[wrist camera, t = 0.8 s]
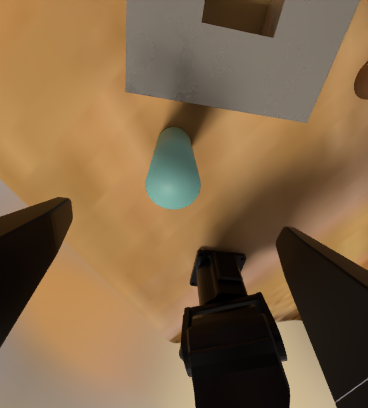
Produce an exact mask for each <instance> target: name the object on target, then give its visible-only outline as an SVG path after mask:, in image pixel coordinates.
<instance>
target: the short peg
mask: <svg viewBox="0 0 368 408" xmlns="http://www.w3.org/2000/svg"><path fill="white" fill-rule="evenodd" d="M354 90H355V93H356V95H357V96H358V97H359V98H361V99H367V100H368V62H367V63H366V64H365V65H364V66H363V67H362V68H361V69H360V71H359V73H358V74H357V77H356V79H355V83H354Z"/></svg>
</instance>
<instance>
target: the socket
mask: <svg viewBox="0 0 368 408" xmlns="http://www.w3.org/2000/svg"><path fill="white" fill-rule="evenodd" d="M359 1H360V0H270V2H269V5H268V9H267V13H266V17H265V20H264V24H263V28H262V31H261V35H257V34H252V33H248V32H243V31H239V30H234V29H229V28H225V27H220V26H215V25H211V24H206V23H202V16H203V9H204V3H205V0H127V15H126V88H125V92H129V93H135V94H141V95H146V96H152V97H158V98H164V99H170V100H176V101H181V102H187V103H193V104H199V105H205V106H211V107H216V108H222V109H228V110H234V111H240V112H246V113H251V114H257V115H263V116H269V117H275V118H281V119H286V120H292V121H298V122H304V123H307V122H308V119H309V117H310V115H311V112H312V110H313V108H314V105H315V103H316V101H317V98H318V96H319V94H320V91H321V89H322V87H323V84H324V82H325V80H326V78H327V75H328V73H329V71H330V68H331V66H332V64H333V61H334V59H335V57H336V54H337V52H338V50H339V47H340V45H341V43H342V40H343V38H344V36H345V34H346V31H347V29H348V27H349V24H350V22H351V20H352V17H353V15H354V13H355V10H356V8H357V6H358V3H359Z"/></svg>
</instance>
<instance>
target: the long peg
mask: <svg viewBox="0 0 368 408" xmlns="http://www.w3.org/2000/svg"><path fill="white" fill-rule="evenodd" d="M200 187H201V183H200V178H199V174H198V170H197V165H196V161H195V157H194V153H193V149H192V145H191V141H190V138H189V136H188V134H187V133H186V132H185V131H184V130H183V129H181V128H178V127H169V128H167V129H165V130H163V131H162V132H161V133H160V135H159V137H158V140H157V143H156V147H155V150H154V154H153V157H152V161H151V164H150V168H149V171H148V175H147V178H146V190H147V193H148V195H149V197H150V198H151V200H152V201H153V202H154V203H156V204H157V205H159V206H161V207H163V208H166V209H180V208H184V207H186V206H188V205H190V204H191V203H192V202H193V201H194V200H195V199H196V198H197V196H198V194H199V192H200Z"/></svg>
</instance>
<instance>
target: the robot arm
mask: <svg viewBox="0 0 368 408" xmlns="http://www.w3.org/2000/svg"><path fill="white" fill-rule="evenodd" d="M72 219H73V214H72V204H71V200H70V199H69V198H63V197H57V198H54V199H51V200H48V201H45V202H42V203H39V204H36V205H33V206H30V207H27V208H25V209H22V210H19V211H16V212H13V213H10V214H7V215H4V216H1V217H0V347H1V346H2V344H3V342H4V341H5V339H6V337H7V336H8V334H9V332H10V331H11V329H12V328H13V326H14V324H15V323H16V321H17V319H18V318H19V316H20V314H21V313H22V311H23V309H24V308H25V306H26V304H27V303H28V301H29V300H30V298H31V296H32V294H33V293H34V291H35V290H36V288H37V286H38V285H39V283H40V281H41V280H42V278H43V277H44V275H45V273H46V272H47V269H48V268H49V266H50V265H51V263H52V262H53V260H54V258H55V257H56V255H57V253H58V250H59V249H60V247H61V245H62V242H63V240H64V238H65V236H66V233H67V231H68V229H69V227H70V225H71V222H72ZM276 248H277V251H278V255H279V258H280V262H281V266H282V269H283V272H284V276H285V278H286V281H287V284H288V286H289V289H290V291H291V294H292V296H293V299H294V301H295V304H296V306H297V309H298V311H299V314H300V316H301V319H302V321H303V324H304V326H305V329H306V331H307V334H308V336H309V339H310V341H311V344H312V346H313V349H314V351H315V354H316V356H317V359H318V361H319V364H320V366H321V369H322V371H323V374H324V376H325V379H326V381H327V384H328V386H329V389H330V391H331V394H332V396H333V399H334V401H335V402H336V407H337V408H368V270H366V269H364V268H363V267H361V266H359V265H357V264H356V263H354V262H352V261H351V260H349V259H347V258H345V257H344V256H342V255H340V254H339V253H337V252H335V251H334V250H332V249H330V248H328V247H327V246H325V245H323V244H322V243H320V242H318V241H316V240H315V239H313V238H311V237H310V236H308V235H306V234H304V233H303V232H301V231H299V230H298V229H296V228H294V227H287V226H286V227H284V228H283V229H282V230H281V232H280V234H279V236H278V238H277V240H276ZM242 257H243V258H242ZM245 261H246V256H245V254H239V253H228V252H217V251H207V250H199V251H198V252H197V255H196V259H195V263H194V267H193V270H192V274H191V278H190V285H191V286H198V295H199V305H200V306H195V307H191V308H190V307H187V308H185V310H184V315H183V324H182V335H181V346H180V350H179V356H180V358H181V359H182V360H183V361H184V364H185V368H186V371H187V374H188V376H189V377H192V381H193V387H194V395H195V406H196V408H289V405H290V388H289V384H288V381H287V378H286V375H285V372H284V369H283V366H282V363H281V362H282V361H287V355H286V351H285V348H284V344H283V341H282V338H281V335H280V332H279V330H278V328H277V325H276V322H275V320H274V318H273V316H272V314H271V312H270V310H269V308H268V306H267V304H266V302H265V299H264V297H263V295H262V293H261V292H258V293H256V294H253V295H248V294H247V291H246V288H245V285H244V282H243V278H242V275H241V270H242V268H243V265H244V263H245Z"/></svg>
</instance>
